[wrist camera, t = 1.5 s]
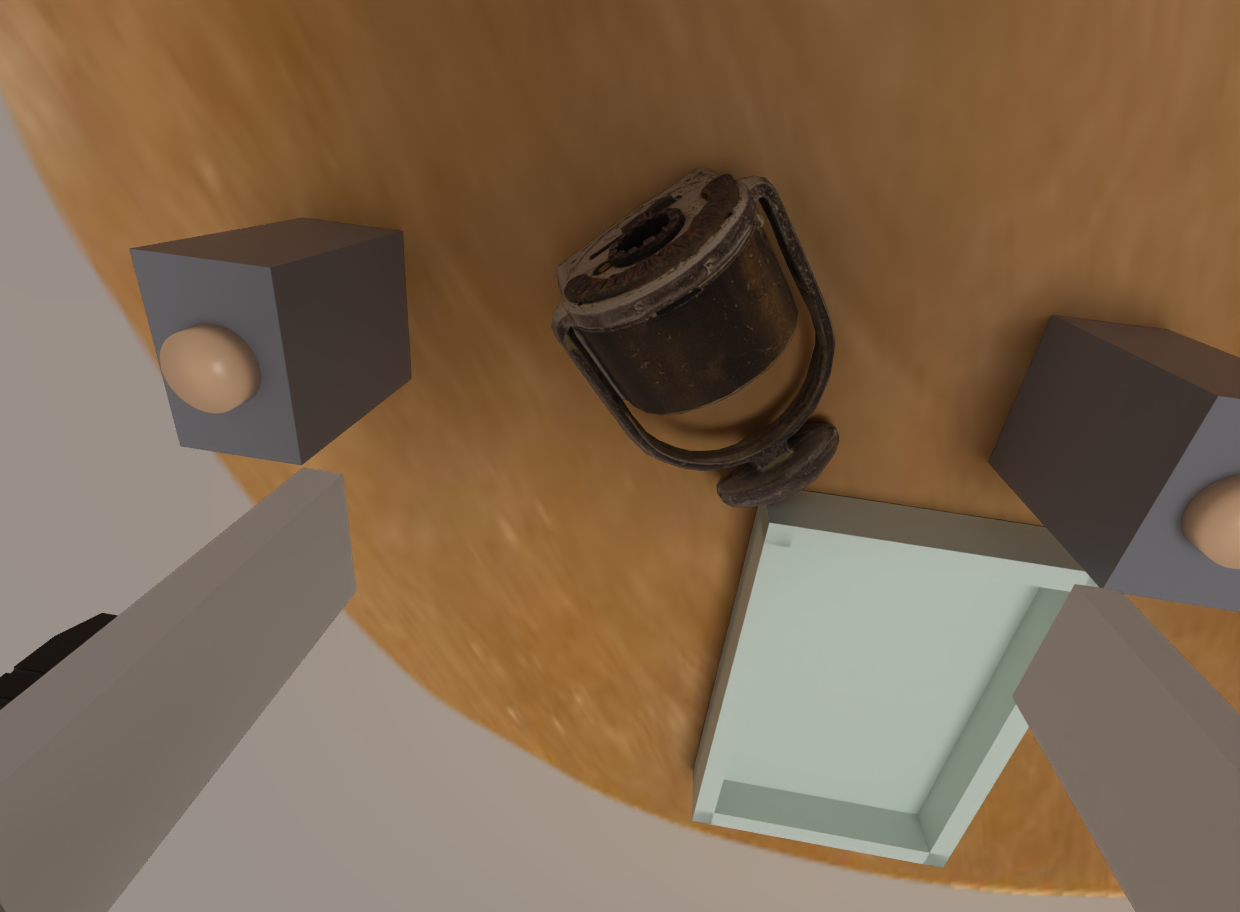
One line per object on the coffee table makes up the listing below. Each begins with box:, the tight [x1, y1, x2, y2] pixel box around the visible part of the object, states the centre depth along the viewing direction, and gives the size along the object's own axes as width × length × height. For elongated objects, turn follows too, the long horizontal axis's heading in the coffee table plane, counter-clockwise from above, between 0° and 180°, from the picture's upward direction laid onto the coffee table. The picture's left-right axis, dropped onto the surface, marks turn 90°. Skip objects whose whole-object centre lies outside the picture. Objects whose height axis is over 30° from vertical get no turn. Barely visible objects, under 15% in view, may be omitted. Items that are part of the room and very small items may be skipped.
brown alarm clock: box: [551, 167, 839, 508], centre depth 21 cm, size 7×13×10 cm
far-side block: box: [130, 218, 411, 465], centre depth 21 cm, size 4×6×9 cm, turn 174°
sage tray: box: [692, 490, 1099, 868], centre depth 29 cm, size 13×19×3 cm
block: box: [988, 315, 1240, 612], centre depth 19 cm, size 4×6×9 cm, turn 174°
